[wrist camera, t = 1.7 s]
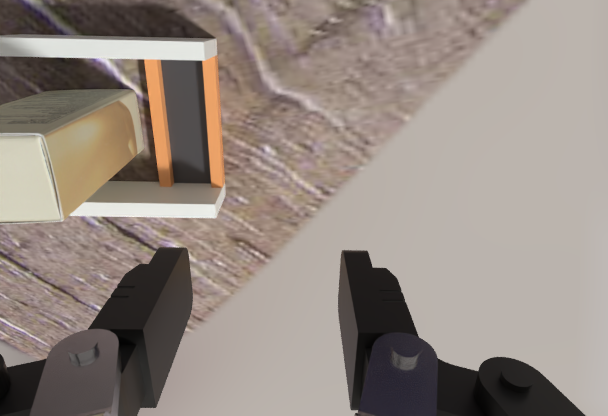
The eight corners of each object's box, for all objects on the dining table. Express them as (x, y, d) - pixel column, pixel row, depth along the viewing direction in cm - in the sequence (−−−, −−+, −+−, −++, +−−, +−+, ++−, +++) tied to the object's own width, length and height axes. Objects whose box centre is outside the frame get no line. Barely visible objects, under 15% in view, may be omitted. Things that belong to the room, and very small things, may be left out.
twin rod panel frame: (21, 34, 27) (-22, 36, 24) (216, 38, 28) (203, 41, 24) (58, 192, 32) (27, 215, 28) (225, 195, 32) (215, 218, 28)
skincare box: (60, 150, 31) (-77, 227, 20) (45, 88, 29) (-115, 134, 18) (150, 150, 31) (64, 226, 20) (140, 88, 29) (39, 133, 18)
